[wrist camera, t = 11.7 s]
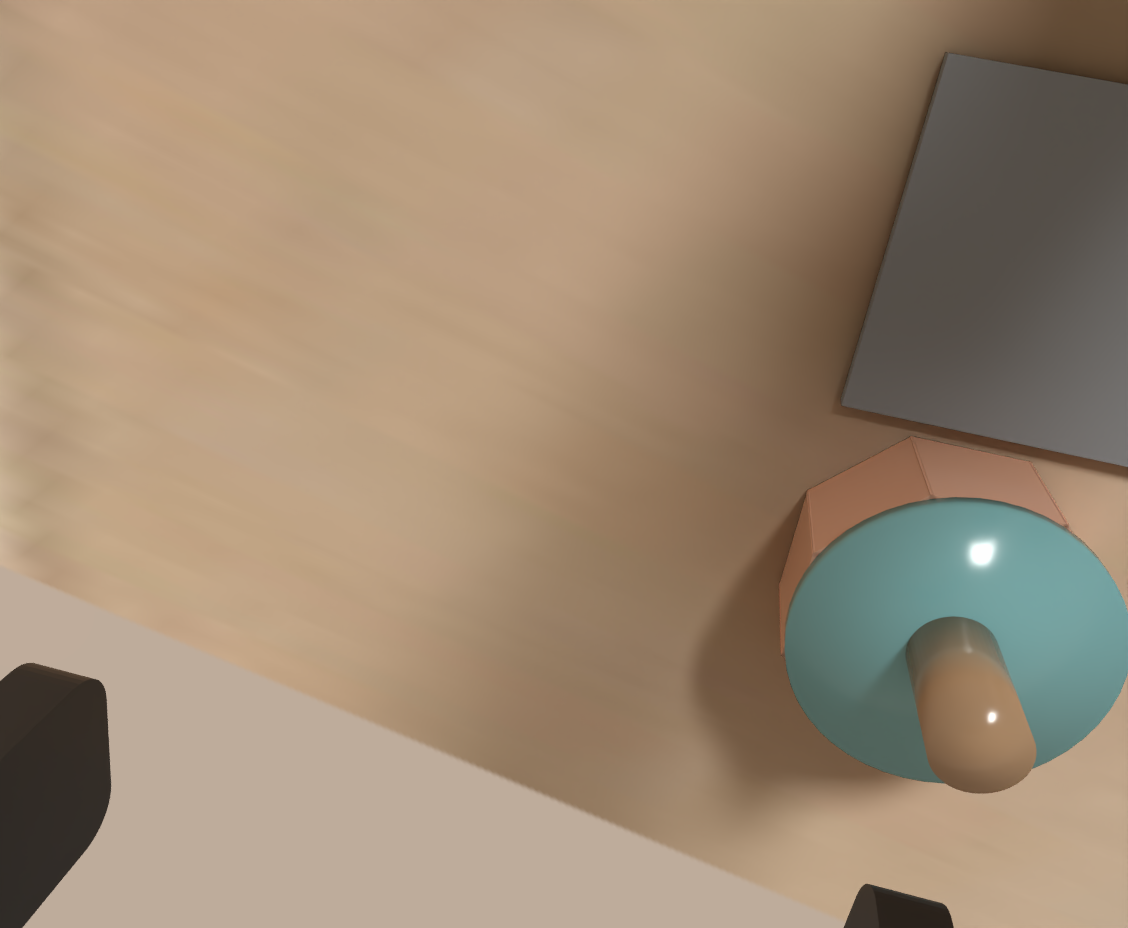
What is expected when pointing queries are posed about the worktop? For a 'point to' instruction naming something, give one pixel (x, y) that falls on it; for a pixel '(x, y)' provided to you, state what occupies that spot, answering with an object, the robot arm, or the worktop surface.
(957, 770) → the lid
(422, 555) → the worktop surface
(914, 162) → the mat
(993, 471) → the bowl
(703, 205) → the worktop surface
